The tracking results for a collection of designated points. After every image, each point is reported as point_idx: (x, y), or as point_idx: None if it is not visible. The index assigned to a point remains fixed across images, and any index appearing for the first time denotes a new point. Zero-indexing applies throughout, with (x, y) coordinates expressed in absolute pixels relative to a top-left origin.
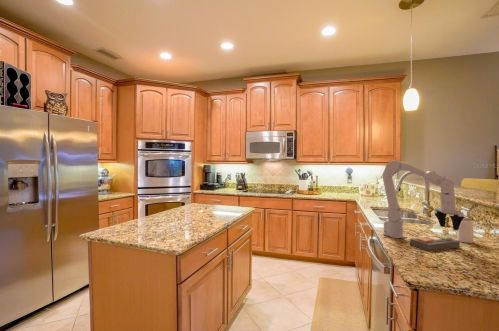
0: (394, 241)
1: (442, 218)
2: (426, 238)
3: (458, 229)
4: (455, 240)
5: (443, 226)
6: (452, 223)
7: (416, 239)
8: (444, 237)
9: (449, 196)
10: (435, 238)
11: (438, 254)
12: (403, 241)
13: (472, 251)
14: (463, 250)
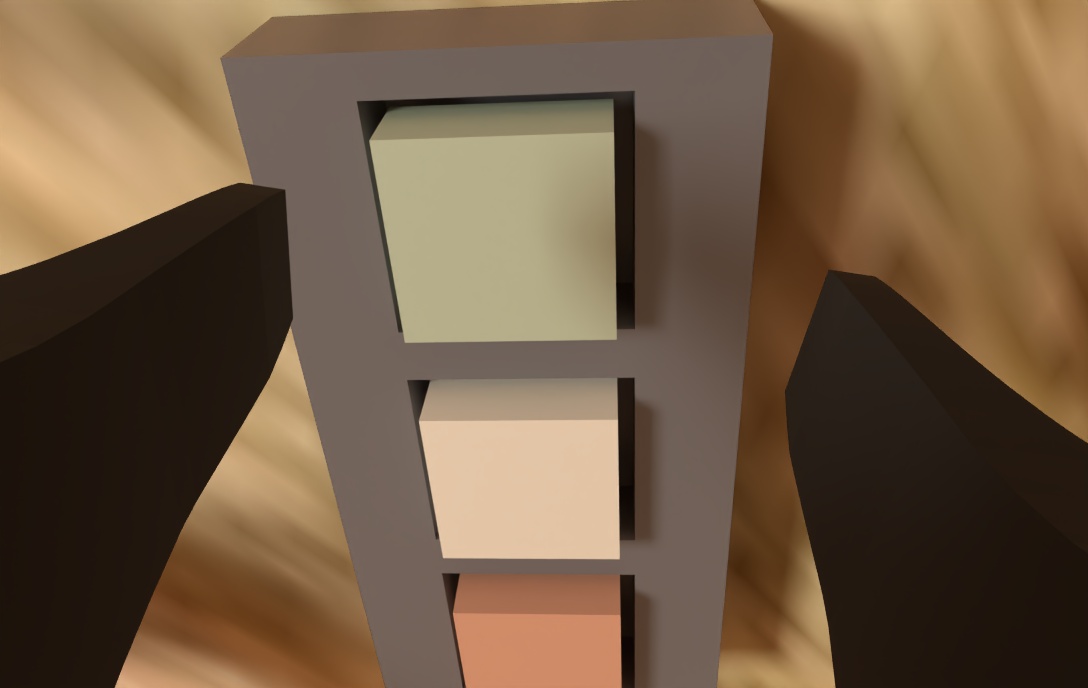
0: (244, 680)
1: (128, 478)
2: (512, 617)
3: (884, 285)
4: (685, 72)
5: (285, 245)
6: (826, 609)
7: (435, 662)
8: (534, 269)
9: None
10: (551, 497)
11: None
12: (249, 597)
13: (1051, 11)
14: (916, 137)
